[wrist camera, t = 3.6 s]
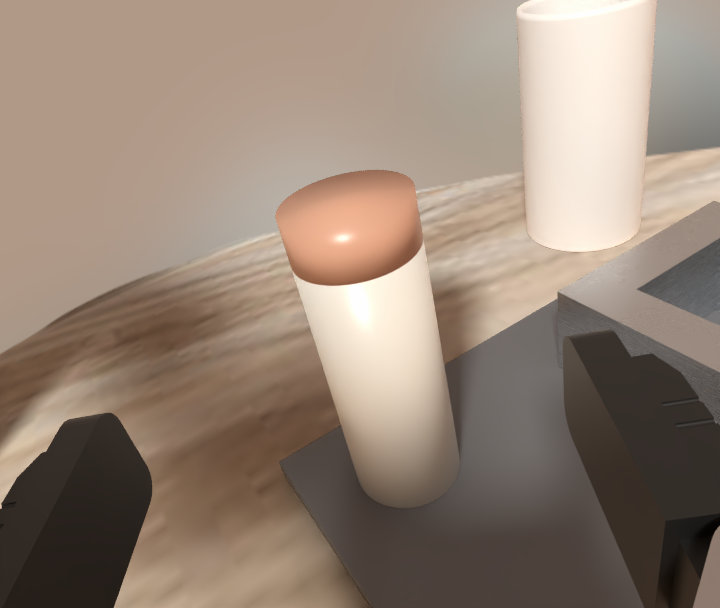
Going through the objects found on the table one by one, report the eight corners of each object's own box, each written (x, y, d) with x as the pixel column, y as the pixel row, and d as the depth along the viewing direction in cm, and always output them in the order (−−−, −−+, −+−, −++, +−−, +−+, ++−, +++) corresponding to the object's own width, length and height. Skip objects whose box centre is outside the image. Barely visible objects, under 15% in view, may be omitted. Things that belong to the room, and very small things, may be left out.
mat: (284, 474, 30) (279, 461, 30) (646, 258, 40) (648, 245, 39) (514, 826, 17) (512, 816, 17) (974, 383, 27) (982, 366, 26)
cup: (625, 258, 40) (640, 5, 31) (510, 245, 45) (495, 20, 36) (651, 205, 45) (671, -26, 37) (546, 197, 50) (541, -10, 41)
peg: (338, 460, 29) (254, 207, 22) (419, 411, 31) (367, 160, 23) (393, 528, 25) (314, 249, 18) (482, 468, 27) (444, 190, 19)
